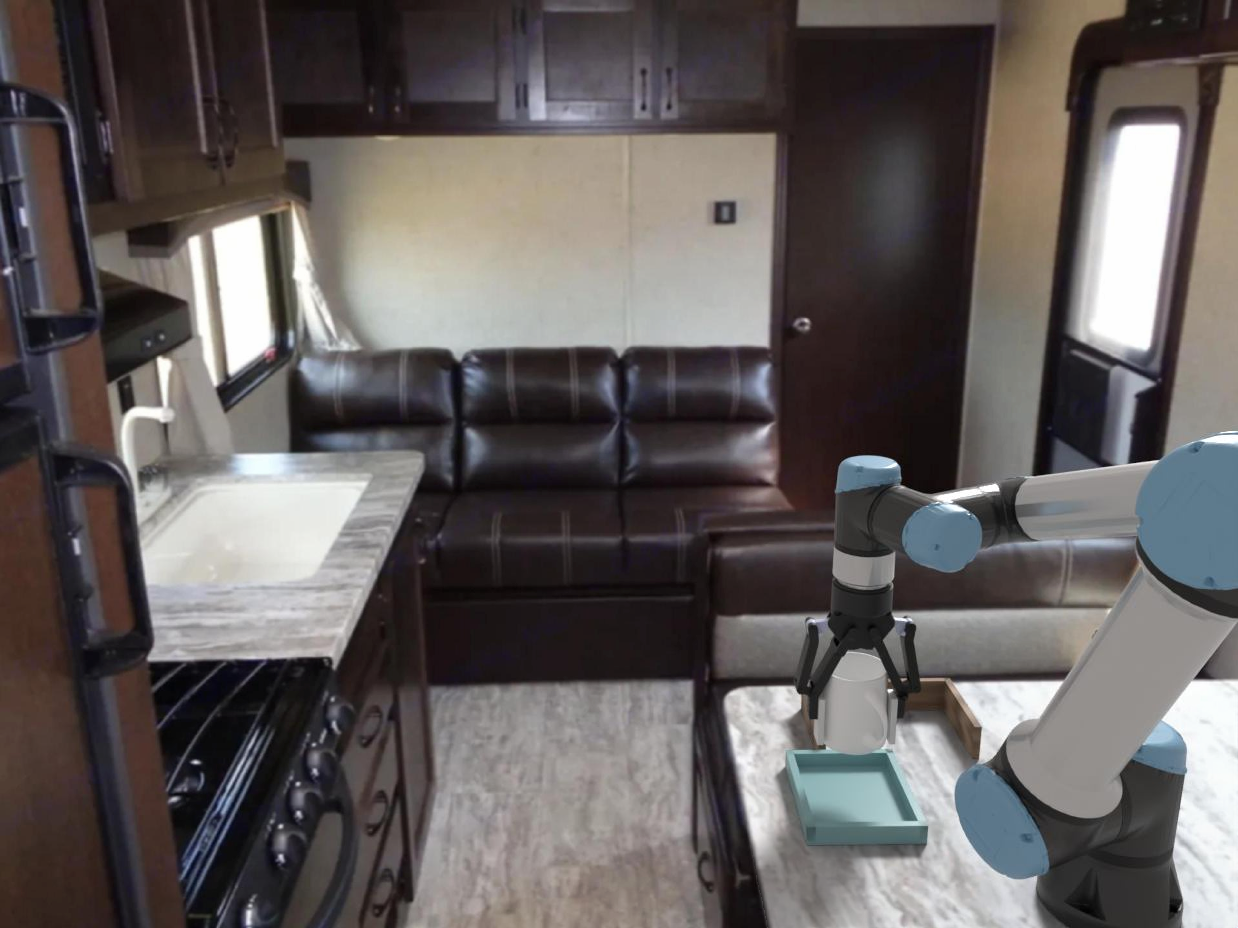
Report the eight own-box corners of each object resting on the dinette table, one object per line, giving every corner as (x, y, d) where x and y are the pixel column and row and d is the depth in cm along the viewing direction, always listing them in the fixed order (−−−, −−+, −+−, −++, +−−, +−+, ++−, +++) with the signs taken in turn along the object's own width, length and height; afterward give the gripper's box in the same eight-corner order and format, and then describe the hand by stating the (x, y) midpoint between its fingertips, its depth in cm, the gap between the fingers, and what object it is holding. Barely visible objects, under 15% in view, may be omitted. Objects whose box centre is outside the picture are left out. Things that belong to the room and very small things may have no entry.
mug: (854, 776, 129) (857, 698, 126) (806, 729, 140) (809, 657, 137) (912, 762, 132) (917, 686, 129) (861, 718, 143) (865, 647, 140)
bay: (979, 758, 148) (981, 726, 147) (818, 760, 148) (819, 728, 147) (947, 706, 163) (949, 677, 161) (801, 708, 163) (802, 679, 162)
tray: (927, 843, 130) (928, 825, 129) (807, 845, 130) (807, 826, 129) (890, 764, 147) (891, 748, 146) (785, 766, 147) (785, 750, 146)
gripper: (939, 566, 133) (927, 723, 139) (773, 568, 133) (768, 725, 140) (957, 589, 126) (944, 753, 132) (781, 591, 126) (776, 755, 132)
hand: (854, 738), depth 136 cm, fingers closed on mug, 9 cm apart
